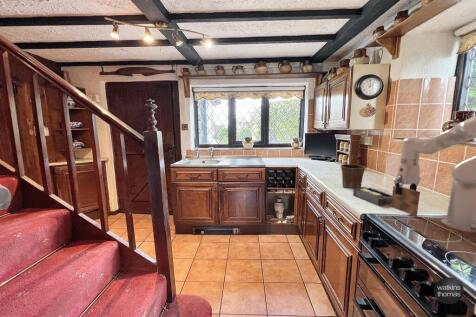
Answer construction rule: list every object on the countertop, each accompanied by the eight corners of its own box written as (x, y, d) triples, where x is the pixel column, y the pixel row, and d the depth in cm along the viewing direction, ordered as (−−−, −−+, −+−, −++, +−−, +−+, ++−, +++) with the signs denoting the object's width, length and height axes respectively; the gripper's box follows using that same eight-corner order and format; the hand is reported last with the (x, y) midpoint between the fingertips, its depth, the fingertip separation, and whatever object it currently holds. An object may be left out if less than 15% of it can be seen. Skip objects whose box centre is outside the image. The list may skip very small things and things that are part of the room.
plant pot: (340, 189, 159) (342, 167, 157) (337, 183, 175) (339, 163, 172) (366, 191, 155) (368, 169, 152) (360, 185, 170) (362, 164, 167)
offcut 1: (371, 199, 137) (372, 191, 136) (366, 199, 136) (367, 191, 135) (364, 196, 142) (364, 188, 141) (359, 196, 141) (360, 189, 140)
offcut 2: (380, 202, 131) (381, 194, 130) (375, 203, 130) (376, 195, 129) (372, 199, 136) (373, 191, 135) (368, 200, 135) (369, 192, 134)
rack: (395, 204, 130) (396, 196, 129) (377, 207, 126) (378, 198, 126) (369, 195, 147) (370, 187, 147) (352, 196, 144) (353, 189, 143)
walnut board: (416, 216, 115) (420, 191, 113) (412, 216, 114) (415, 192, 112) (395, 207, 126) (397, 185, 124) (390, 208, 125) (393, 185, 123)
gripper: (403, 164, 110) (399, 197, 112) (429, 162, 114) (425, 194, 117) (389, 161, 117) (386, 192, 120) (414, 159, 121) (410, 190, 124)
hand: (405, 193), depth 118 cm, fingers open, 9 cm apart
